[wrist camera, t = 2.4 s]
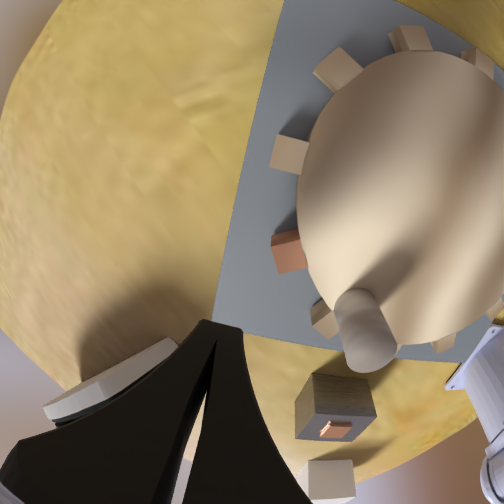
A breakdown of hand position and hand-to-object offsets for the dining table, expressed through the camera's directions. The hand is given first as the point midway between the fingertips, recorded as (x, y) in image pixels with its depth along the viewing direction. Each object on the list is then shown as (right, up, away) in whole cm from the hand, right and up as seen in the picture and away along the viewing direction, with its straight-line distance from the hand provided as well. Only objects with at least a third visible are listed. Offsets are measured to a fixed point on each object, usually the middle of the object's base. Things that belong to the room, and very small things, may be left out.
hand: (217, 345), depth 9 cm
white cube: (+11, -26, +19) cm, 34 cm away
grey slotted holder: (-11, -8, +13) cm, 19 cm away
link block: (+8, -8, +12) cm, 16 cm away
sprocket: (+11, +6, +3) cm, 13 cm away
